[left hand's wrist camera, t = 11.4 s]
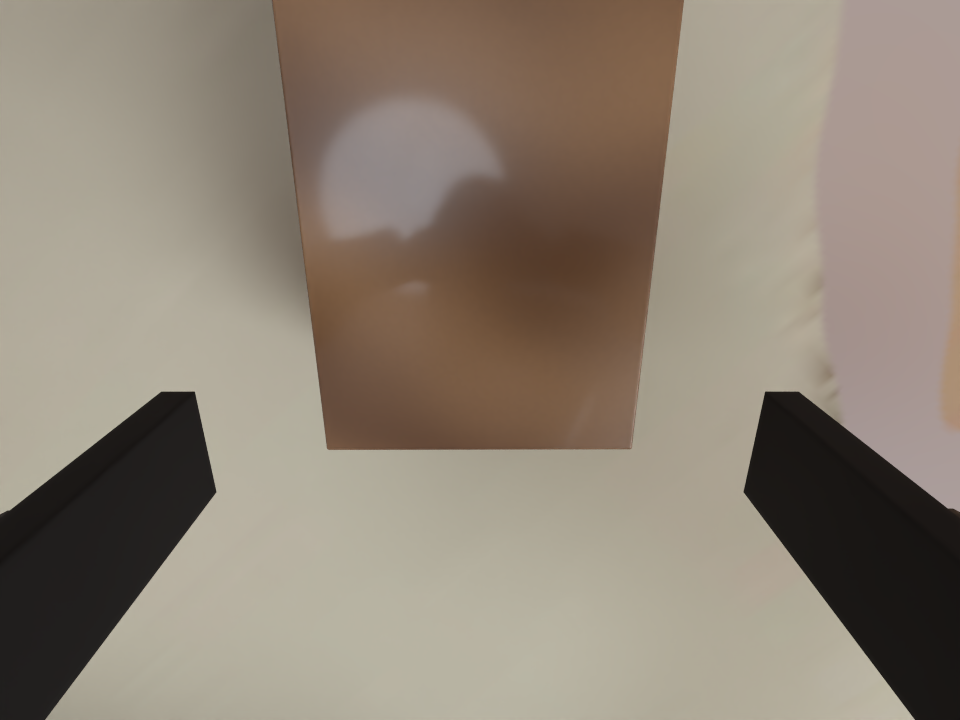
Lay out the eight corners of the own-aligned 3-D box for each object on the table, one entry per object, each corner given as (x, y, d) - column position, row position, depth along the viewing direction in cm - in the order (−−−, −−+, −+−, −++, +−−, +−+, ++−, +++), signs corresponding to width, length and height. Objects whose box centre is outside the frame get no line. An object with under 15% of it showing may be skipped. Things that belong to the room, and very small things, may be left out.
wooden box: (332, -95, 20) (241, -244, 12) (623, -96, 20) (713, -245, 12) (370, 362, 26) (326, 450, 19) (588, 361, 26) (632, 450, 19)
